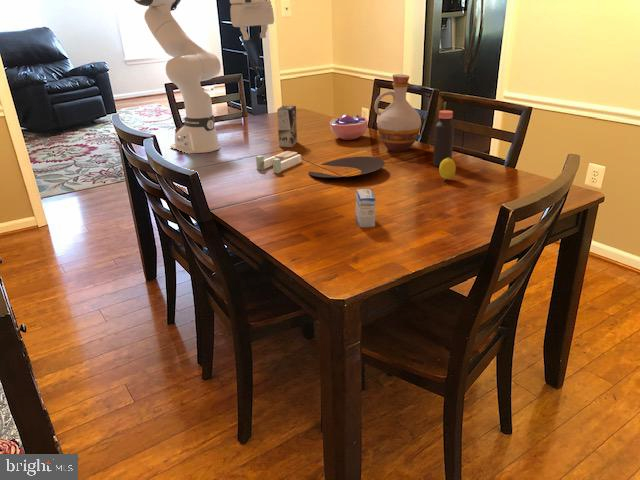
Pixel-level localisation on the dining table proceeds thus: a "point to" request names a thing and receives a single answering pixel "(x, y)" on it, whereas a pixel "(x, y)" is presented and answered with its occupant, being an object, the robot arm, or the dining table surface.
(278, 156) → the maple block
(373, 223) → the medicine box
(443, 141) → the bottle
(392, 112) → the jug
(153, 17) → the robot arm
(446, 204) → the dining table surface
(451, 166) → the lemon
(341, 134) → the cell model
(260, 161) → the green-tipped fork clamp
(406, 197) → the dining table surface
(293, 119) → the coffee box
